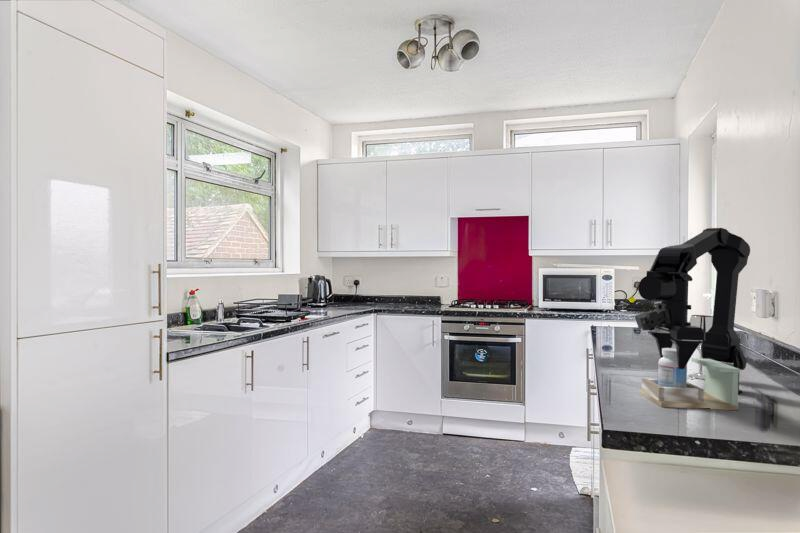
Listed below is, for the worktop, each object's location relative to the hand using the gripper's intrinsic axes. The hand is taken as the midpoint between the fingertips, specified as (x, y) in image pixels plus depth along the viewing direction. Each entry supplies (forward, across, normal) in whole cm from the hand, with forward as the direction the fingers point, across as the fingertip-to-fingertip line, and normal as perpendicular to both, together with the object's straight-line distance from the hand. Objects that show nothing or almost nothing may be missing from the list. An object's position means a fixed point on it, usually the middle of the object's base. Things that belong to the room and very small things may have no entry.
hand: (672, 365), depth 127 cm
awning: (+8, 0, +10) cm, 13 cm away
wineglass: (+9, -30, +21) cm, 38 cm away
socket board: (+9, 0, +3) cm, 9 cm away
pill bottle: (+8, 0, 0) cm, 8 cm away
